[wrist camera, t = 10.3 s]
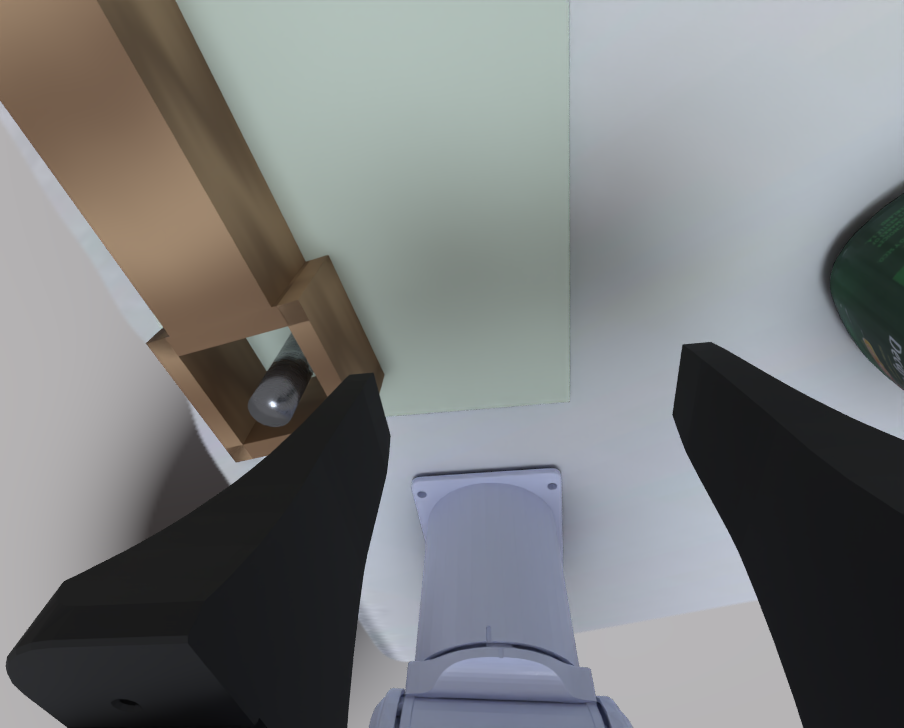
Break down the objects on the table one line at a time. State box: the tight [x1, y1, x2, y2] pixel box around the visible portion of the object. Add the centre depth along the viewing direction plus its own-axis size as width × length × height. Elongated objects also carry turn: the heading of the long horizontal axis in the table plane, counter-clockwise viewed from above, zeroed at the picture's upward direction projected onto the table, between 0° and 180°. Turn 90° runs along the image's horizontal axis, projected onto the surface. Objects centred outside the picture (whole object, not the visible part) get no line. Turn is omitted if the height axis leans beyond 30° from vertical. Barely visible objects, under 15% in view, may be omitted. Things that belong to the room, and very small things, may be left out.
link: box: [0, 0, 385, 462], centre depth 16 cm, size 20×6×4 cm, turn 17°
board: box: [152, 0, 570, 417], centre depth 17 cm, size 27×18×1 cm, turn 8°
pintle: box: [248, 332, 313, 427], centre depth 20 cm, size 2×2×5 cm
